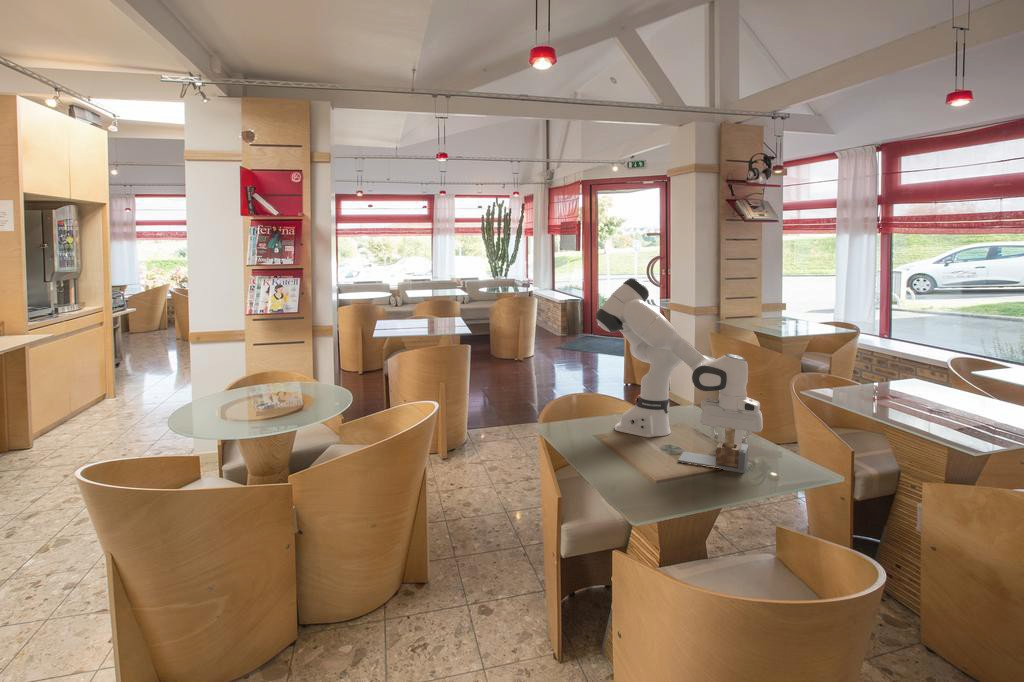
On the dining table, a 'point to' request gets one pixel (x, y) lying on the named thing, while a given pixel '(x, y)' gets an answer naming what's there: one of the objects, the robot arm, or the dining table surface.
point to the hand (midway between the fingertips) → (729, 440)
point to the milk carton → (737, 436)
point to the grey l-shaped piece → (711, 460)
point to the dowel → (729, 437)
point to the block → (728, 454)
